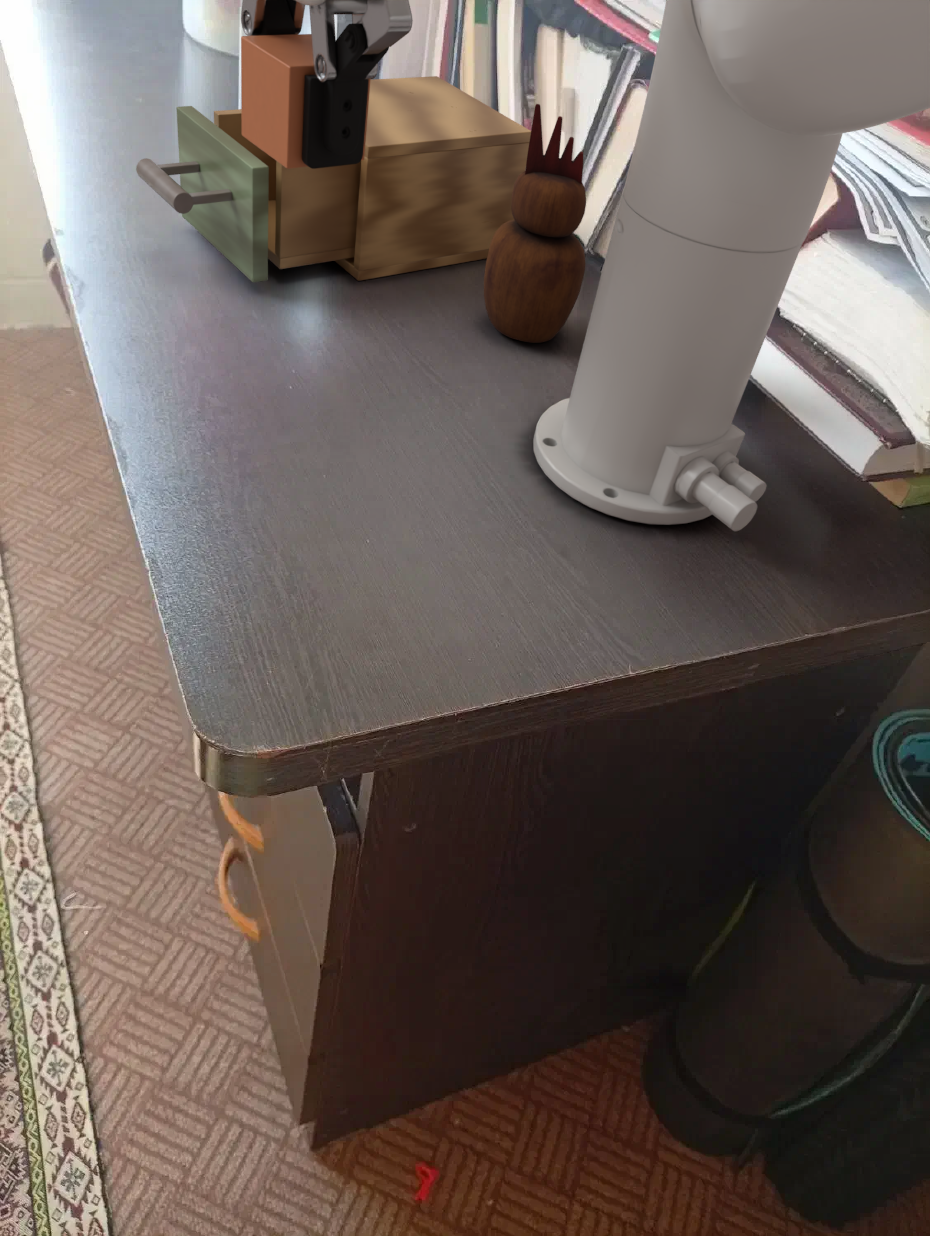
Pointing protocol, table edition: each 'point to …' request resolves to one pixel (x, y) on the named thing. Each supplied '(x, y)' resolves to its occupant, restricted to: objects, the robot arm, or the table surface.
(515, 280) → the wooden figurine
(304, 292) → the table surface
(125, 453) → the table surface
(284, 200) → the drawer
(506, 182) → the cabinet
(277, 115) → the block
